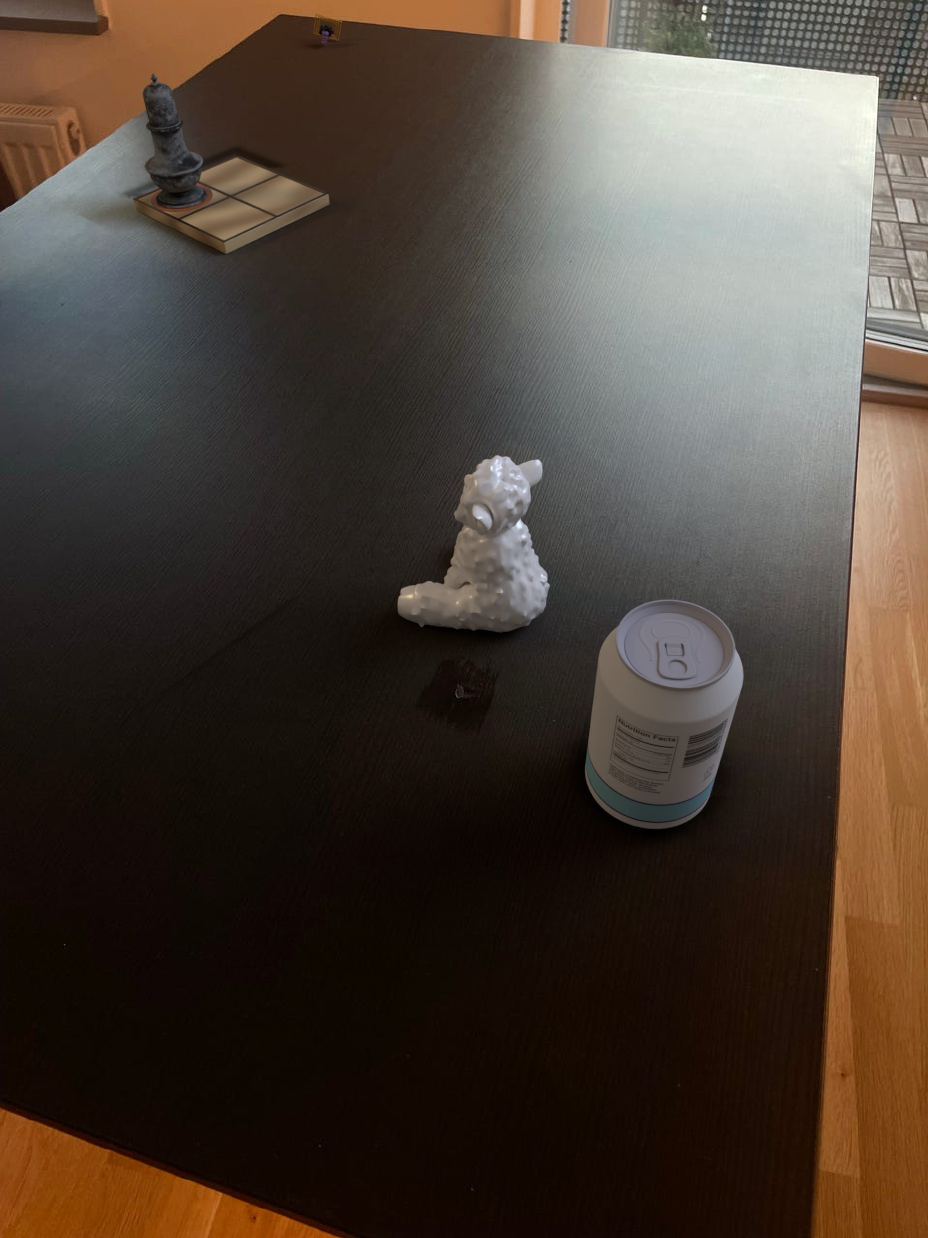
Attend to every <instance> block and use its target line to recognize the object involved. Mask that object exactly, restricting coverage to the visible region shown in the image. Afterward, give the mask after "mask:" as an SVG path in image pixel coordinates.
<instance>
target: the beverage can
mask: <svg viewBox="0 0 928 1238" xmlns="http://www.w3.org/2000/svg"><path fill="white" fill-rule="evenodd" d="M735 642H736V641H735V638H734V636H733V633H732V631H731V630H730V628H729V627H728V626H727V625H726V623H725V622H724V621H723V620H722V619H721V618H720V617H719V616H718V615H716V613H713V612H712V611H711V610H709V609H707V608H705V607H703V606H701V605H699V604H696V603H693V602H690V601H685V600H679V599H659V600H653V601H648V602H645V603H642V604H640V605H638V606H636V607H634V608H633V609H631V610H630V611H629V612H628V613H626V615H624V616H623V618H622V619H621V620H620V623H619V624H618V626H616V627H615V628H613V630H612V631H611V632H610V633H609V634H608V635H607V637H606V638H605V639H604V641H603V642H602V645H601V647H600V650H599V653H598V660H597V668H596V675H595V684H594V693H593V701H592V709H591V716H590V726H589V735H588V741H587V749H586V756H585V757H586V758H585V765H584V774H585V781H586V785H587V787H588V790H589V792H590V794H591V795H592V797H593V798H594V800H595V801H596V802H597V804H598V805H599V806H600V807H601V808H602V809H603V810H604V811H605V812H606V813H608V814H609V815H611V816H612V817H614V818H615V819H617V820H619V821H620V822H623V823H625V824H627V825H630V826H633V827H636V828H641V829H649V830H663V829H668V828H673V827H677V826H680V825H682V824H684V823H687V822H688V821H690V820H692V819H693V818H695V817H696V816H697V815H698V814H699V813H700V812H702V810H703V809H704V807H705V806H706V805H707V803H708V800H709V798H710V797H711V793H712V790H713V787H714V783H715V780H716V776H717V773H718V769H719V766H720V762H721V759H722V757H723V753H724V749H725V745H726V742H727V739H728V735H729V733H730V728H731V726H732V722H733V719H734V715H735V712H736V708H737V705H738V702H739V698H740V695H741V691H742V688H743V684H744V668H743V667H744V666H743V664H742V660H741V657H740V655H739V653H738V651H737V649H736V643H735Z"/></svg>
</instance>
